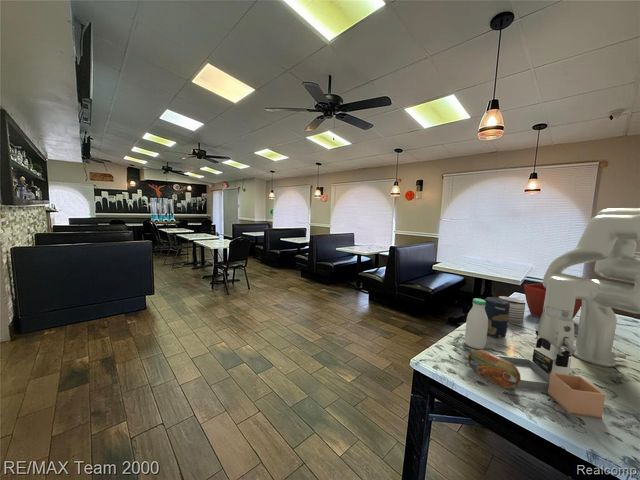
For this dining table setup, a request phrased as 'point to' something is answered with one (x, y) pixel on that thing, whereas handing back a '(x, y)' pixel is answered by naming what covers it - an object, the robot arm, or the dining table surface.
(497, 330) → the canister
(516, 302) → the can
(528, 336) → the dining table surface
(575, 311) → the plant pot
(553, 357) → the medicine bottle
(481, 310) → the milk bottle
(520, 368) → the grey square tray
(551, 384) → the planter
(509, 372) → the tin
